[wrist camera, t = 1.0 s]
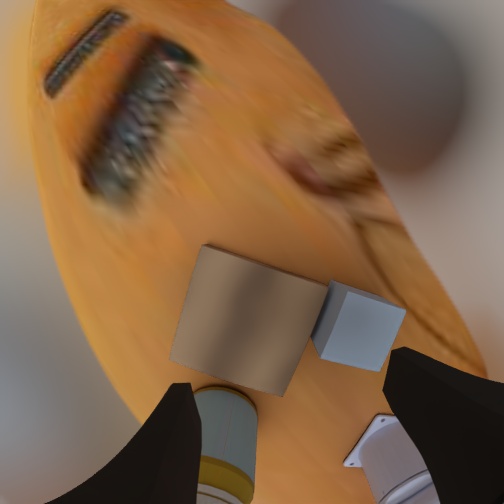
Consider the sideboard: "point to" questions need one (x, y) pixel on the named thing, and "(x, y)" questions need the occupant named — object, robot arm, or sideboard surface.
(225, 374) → the base slab
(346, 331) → the cube
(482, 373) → the sideboard surface
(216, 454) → the bottle
